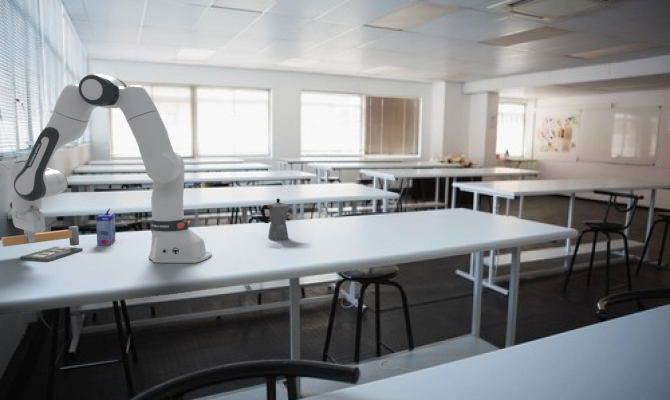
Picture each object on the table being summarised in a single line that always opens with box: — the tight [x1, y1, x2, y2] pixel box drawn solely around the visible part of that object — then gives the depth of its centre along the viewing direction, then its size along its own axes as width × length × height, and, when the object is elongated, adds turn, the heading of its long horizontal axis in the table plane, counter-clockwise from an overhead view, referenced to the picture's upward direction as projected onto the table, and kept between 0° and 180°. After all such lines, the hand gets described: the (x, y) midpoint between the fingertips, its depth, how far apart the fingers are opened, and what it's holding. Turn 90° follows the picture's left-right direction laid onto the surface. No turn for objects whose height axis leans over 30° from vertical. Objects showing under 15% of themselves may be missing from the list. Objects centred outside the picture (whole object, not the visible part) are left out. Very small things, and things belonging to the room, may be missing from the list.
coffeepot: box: [260, 198, 292, 241], centre depth 198 cm, size 15×9×18 cm, turn 129°
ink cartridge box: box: [95, 208, 116, 246], centre depth 186 cm, size 10×6×14 cm, turn 15°
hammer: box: [0, 225, 80, 247], centre depth 169 cm, size 3×25×7 cm, turn 136°
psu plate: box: [19, 246, 84, 262], centre depth 166 cm, size 12×16×1 cm
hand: (30, 242), depth 164 cm, fingers closed
